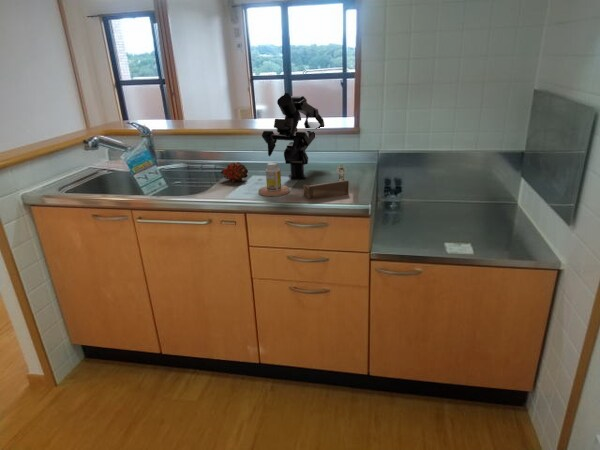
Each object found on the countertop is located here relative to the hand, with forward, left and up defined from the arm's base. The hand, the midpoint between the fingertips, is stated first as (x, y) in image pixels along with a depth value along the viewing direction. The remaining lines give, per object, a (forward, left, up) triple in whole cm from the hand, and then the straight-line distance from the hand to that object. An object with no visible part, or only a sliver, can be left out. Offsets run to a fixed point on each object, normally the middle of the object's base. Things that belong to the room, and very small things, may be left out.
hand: (279, 156), depth 160 cm
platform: (-2, +25, -13) cm, 29 cm away
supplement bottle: (+5, -3, -12) cm, 13 cm away
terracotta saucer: (+5, -3, -13) cm, 14 cm away
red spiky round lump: (-16, -18, -13) cm, 27 cm away
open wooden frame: (+14, +15, -13) cm, 24 cm away
